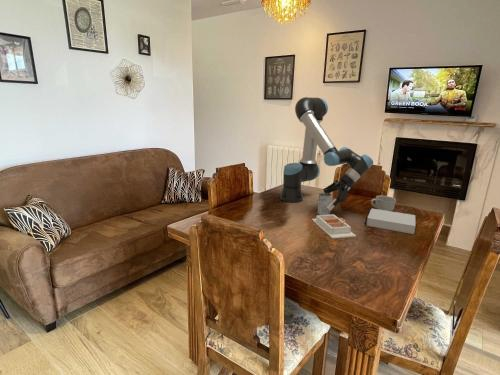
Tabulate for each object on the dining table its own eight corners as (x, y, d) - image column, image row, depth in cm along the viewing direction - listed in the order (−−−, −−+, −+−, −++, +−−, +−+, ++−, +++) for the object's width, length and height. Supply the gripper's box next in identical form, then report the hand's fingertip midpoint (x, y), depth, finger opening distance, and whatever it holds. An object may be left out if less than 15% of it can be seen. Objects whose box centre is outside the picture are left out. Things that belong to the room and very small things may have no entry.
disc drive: (369, 215, 167) (370, 207, 166) (413, 223, 157) (415, 214, 156) (364, 226, 152) (365, 217, 151) (413, 235, 142) (415, 225, 141)
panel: (319, 215, 166) (321, 195, 163) (317, 213, 169) (319, 193, 166) (329, 214, 167) (331, 194, 164) (327, 212, 170) (328, 192, 167)
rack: (332, 238, 136) (333, 230, 135) (311, 219, 159) (312, 212, 158) (355, 236, 139) (356, 228, 138) (332, 218, 161) (332, 211, 160)
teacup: (390, 208, 179) (392, 195, 177) (397, 214, 168) (399, 201, 166) (366, 207, 180) (368, 194, 178) (371, 213, 170) (373, 200, 168)
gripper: (366, 188, 154) (337, 216, 155) (342, 177, 178) (317, 202, 179) (358, 178, 152) (329, 208, 153) (335, 169, 175) (310, 194, 176)
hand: (323, 205), depth 166 cm, fingers open, 13 cm apart
